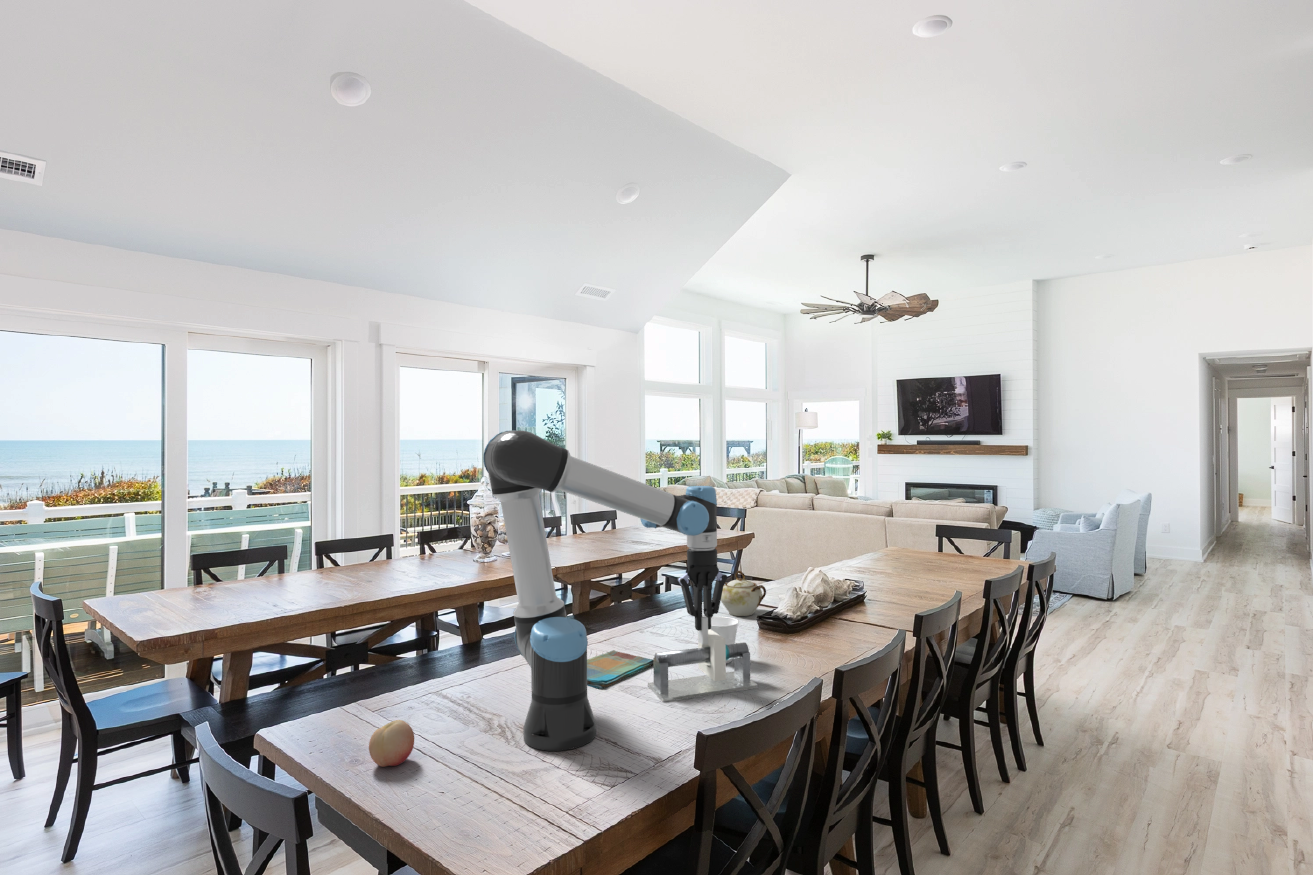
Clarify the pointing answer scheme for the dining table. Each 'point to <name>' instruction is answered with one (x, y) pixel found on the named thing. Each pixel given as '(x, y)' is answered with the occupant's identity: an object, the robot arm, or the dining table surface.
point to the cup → (725, 629)
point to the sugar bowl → (742, 596)
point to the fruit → (391, 743)
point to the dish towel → (613, 668)
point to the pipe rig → (700, 684)
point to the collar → (715, 657)
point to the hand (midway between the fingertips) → (703, 642)
